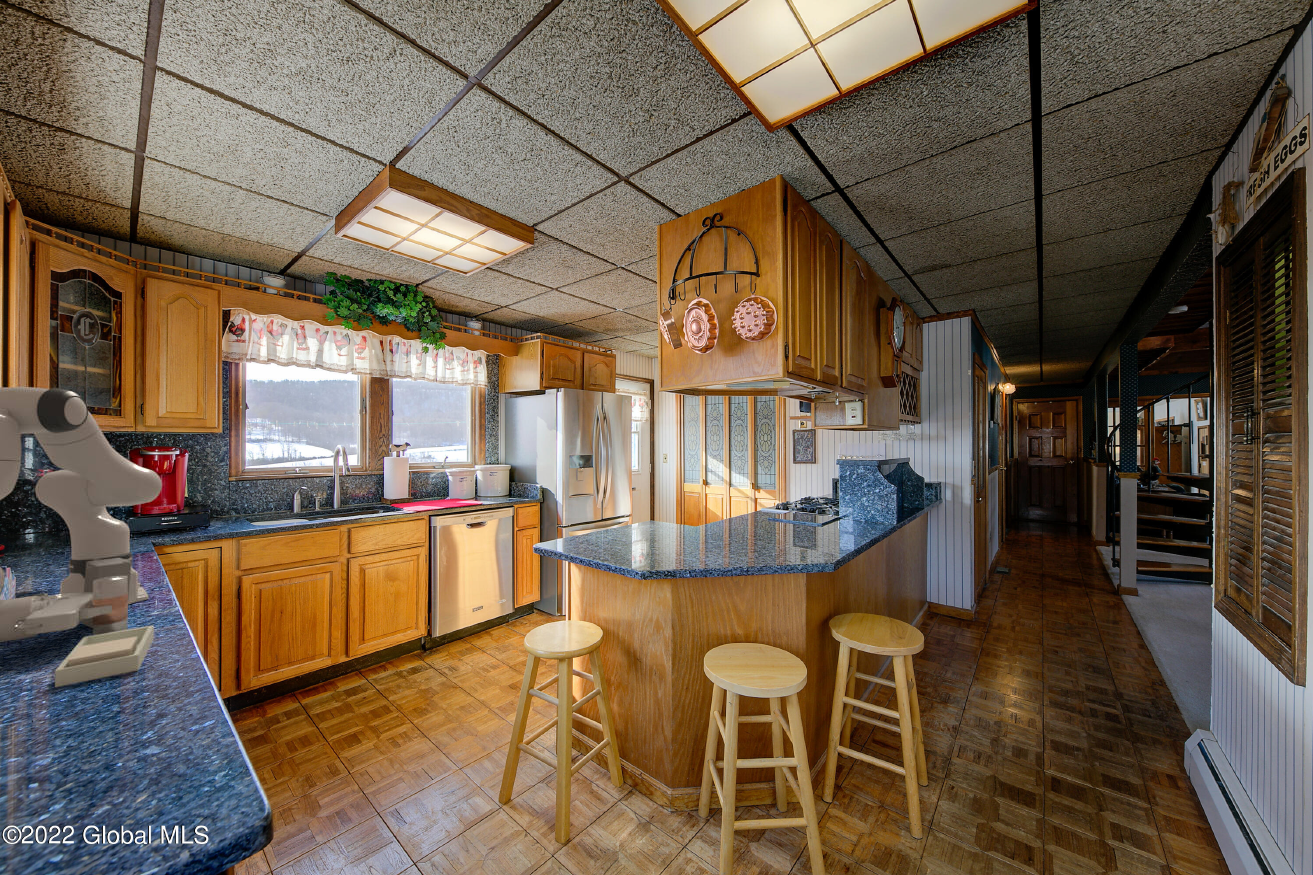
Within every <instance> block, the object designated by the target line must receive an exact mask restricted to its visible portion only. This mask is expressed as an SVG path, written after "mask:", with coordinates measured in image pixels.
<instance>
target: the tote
mask: <svg viewBox="0 0 1313 875" xmlns="http://www.w3.org/2000/svg"><path fill="white" fill-rule="evenodd" d="M154 630H155V626H154V624H153V625H148V626H141V627H137V628H136V627H134V628H129V629H127V630H123V631H117V632H111V633H105V634H99V635H93V634H92V635H88V636H87V635H86V636H83V637H82V638H81V640H80V641H79V642H78V643H77V645H76V646H74V648H72V651H71V652H69V654H68V655H67V656H66V658H64V660H62V662H61V663H60V664H59V666H58V667H57V668H56V669H55V670H54V687H55V688H59V687H64V686H68V685H73V684H78V683H81V682H88V681H92V680H98V679H103V678H107V677H113V676H119V675H122V674H127V673H132V672H136V671H139V670H140V668H141V666H142V664H143V662H144V660H145V657H146V656H147V653H148V651H149V649H150V647H151V645H152V644H153V640H154V638H155V633H154V632H155V631H154ZM137 636H138V639H137V649H136V651H135V653H134V655H129V656H124V657H118V658H113V659H108V660H103V661H97V662H92V663H87V664H82V665H76V666H71V667H69V663H68V660H69V658H70V657H71V656H72V655H73V654H74V652H75V651H76V650H77V649H78V648H79V646H85V645H91V644H97V643H102V642H108V641H114V640H119V639H125V638H131V637H137Z"/></svg>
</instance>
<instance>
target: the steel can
mask: <svg viewBox="0 0 1313 875" xmlns="http://www.w3.org/2000/svg"><path fill="white" fill-rule="evenodd" d="M127 585H128V576H111V577H105V578H100V579H96V580H94V581H93V607H99V606H102V605H108V604H112V605H113V611H112V612H111V613H108V614H102V615H98V616H95V617H93V628H92V636H93V635H99V634H105V633H111V632H117V631H123V630H128V616H129V615H128V614H129V612H128V611H129V610H128V608H129V607H128V606H129V604H128V593H127Z"/></svg>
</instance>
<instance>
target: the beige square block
mask: <svg viewBox="0 0 1313 875" xmlns="http://www.w3.org/2000/svg"><path fill="white" fill-rule="evenodd" d="M137 639H138V636H137V637H131V638H125V639H119V640H114V641H108V642H102V643H97V644H91V645H85V646H79V648H78V649H77V650H76V651H75V652H74V654H73V655H72V656H71V657H70V658H69V660H68V663H69V667H71V666H76V665H82V664H87V663H92V662H97V661H103V660H108V659H113V658H118V657H124V656H129V655H134V653H135V651H136V649H137Z"/></svg>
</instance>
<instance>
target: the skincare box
mask: <svg viewBox="0 0 1313 875" xmlns="http://www.w3.org/2000/svg"><path fill="white" fill-rule="evenodd" d="M131 567H132V564H131V562H129V561H127V559H121V558H112V559H103V560H93V561H87V562H86V572H85V584H84V592H93V581H94V580H96V579H100V578H105V577H111V576H128V585H127V593H128V598H129V585H130V573H131ZM80 623H81V624H82V625H84V626H87V627H89V628H91V629H93V617H91V618H87V619H82V620H81V622H80Z"/></svg>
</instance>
